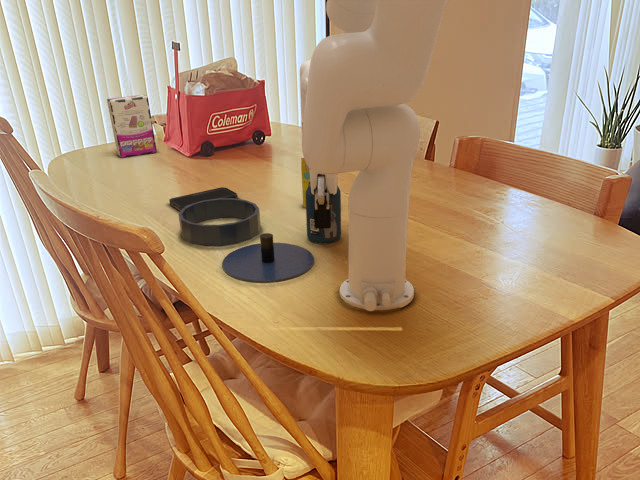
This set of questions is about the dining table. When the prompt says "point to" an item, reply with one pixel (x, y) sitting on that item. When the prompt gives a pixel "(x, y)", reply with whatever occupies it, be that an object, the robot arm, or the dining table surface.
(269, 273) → the lid
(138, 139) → the candy bar box
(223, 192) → the phone
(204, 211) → the pot
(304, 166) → the crayon box
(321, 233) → the soda can
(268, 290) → the dining table surface
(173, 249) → the dining table surface
